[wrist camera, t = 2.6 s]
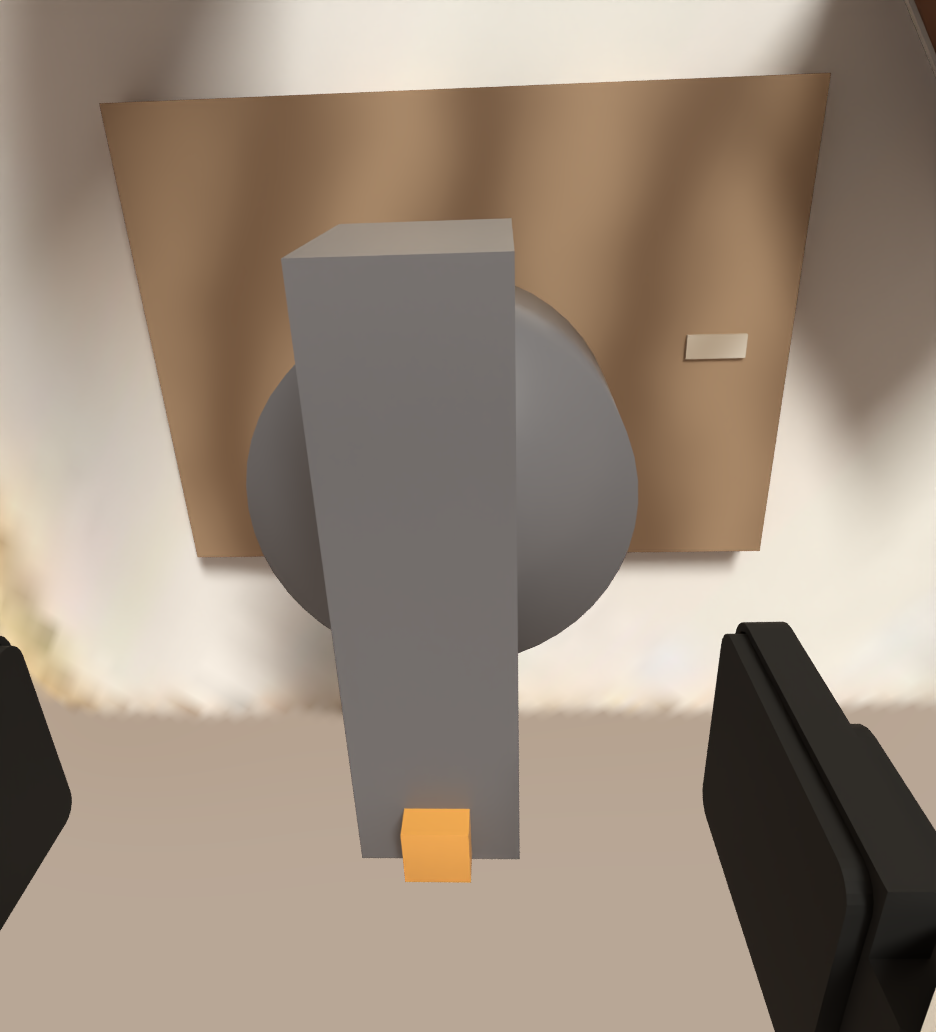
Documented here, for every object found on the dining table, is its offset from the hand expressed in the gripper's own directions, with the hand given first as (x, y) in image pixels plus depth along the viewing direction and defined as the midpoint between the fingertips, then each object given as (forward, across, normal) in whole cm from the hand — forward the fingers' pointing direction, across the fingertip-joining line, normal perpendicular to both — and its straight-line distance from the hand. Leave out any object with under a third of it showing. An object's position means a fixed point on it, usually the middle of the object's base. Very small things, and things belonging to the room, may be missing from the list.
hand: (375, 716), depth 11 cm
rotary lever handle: (+10, -1, 0) cm, 10 cm away
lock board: (+20, -1, 0) cm, 20 cm away
